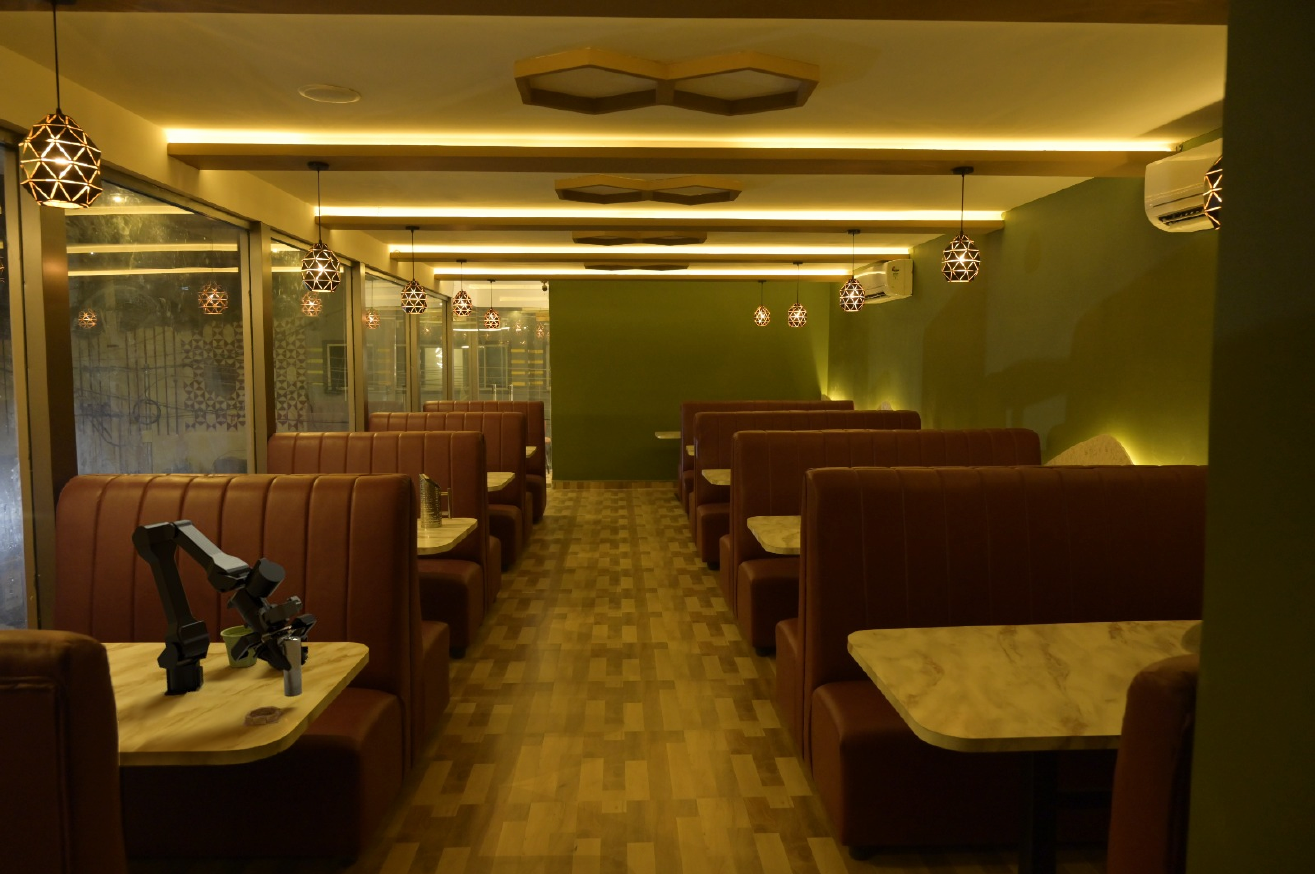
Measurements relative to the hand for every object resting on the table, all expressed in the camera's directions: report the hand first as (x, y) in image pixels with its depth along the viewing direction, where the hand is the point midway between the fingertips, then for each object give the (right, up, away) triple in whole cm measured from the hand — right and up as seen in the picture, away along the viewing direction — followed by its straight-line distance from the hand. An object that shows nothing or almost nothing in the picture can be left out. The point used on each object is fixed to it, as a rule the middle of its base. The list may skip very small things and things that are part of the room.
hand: (297, 666), depth 176 cm
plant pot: (-27, -8, +30) cm, 41 cm away
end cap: (-15, -8, +30) cm, 35 cm away
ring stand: (-5, -10, -5) cm, 12 cm away
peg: (-1, -6, +1) cm, 6 cm away
